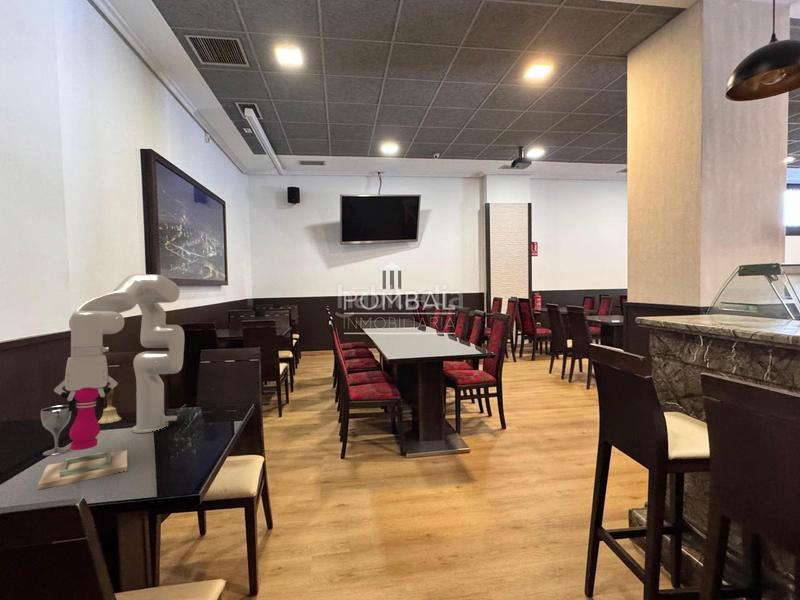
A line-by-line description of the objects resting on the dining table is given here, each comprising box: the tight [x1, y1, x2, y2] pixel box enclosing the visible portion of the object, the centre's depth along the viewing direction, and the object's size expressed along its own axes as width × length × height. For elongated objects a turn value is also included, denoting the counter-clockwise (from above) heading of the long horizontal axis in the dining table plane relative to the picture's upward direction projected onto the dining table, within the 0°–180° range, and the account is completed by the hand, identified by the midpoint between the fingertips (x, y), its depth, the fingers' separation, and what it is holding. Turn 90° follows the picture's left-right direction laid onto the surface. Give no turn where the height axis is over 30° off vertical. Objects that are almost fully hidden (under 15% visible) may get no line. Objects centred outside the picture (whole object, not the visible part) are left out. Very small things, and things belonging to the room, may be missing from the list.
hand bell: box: [97, 383, 122, 425], centre depth 170 cm, size 8×8×16 cm
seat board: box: [37, 450, 128, 491], centre depth 118 cm, size 20×16×3 cm
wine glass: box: [40, 404, 72, 456], centre depth 134 cm, size 8×8×15 cm
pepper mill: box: [68, 387, 101, 451], centre depth 117 cm, size 7×7×20 cm
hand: (86, 410), depth 118 cm, fingers closed on pepper mill, 5 cm apart
